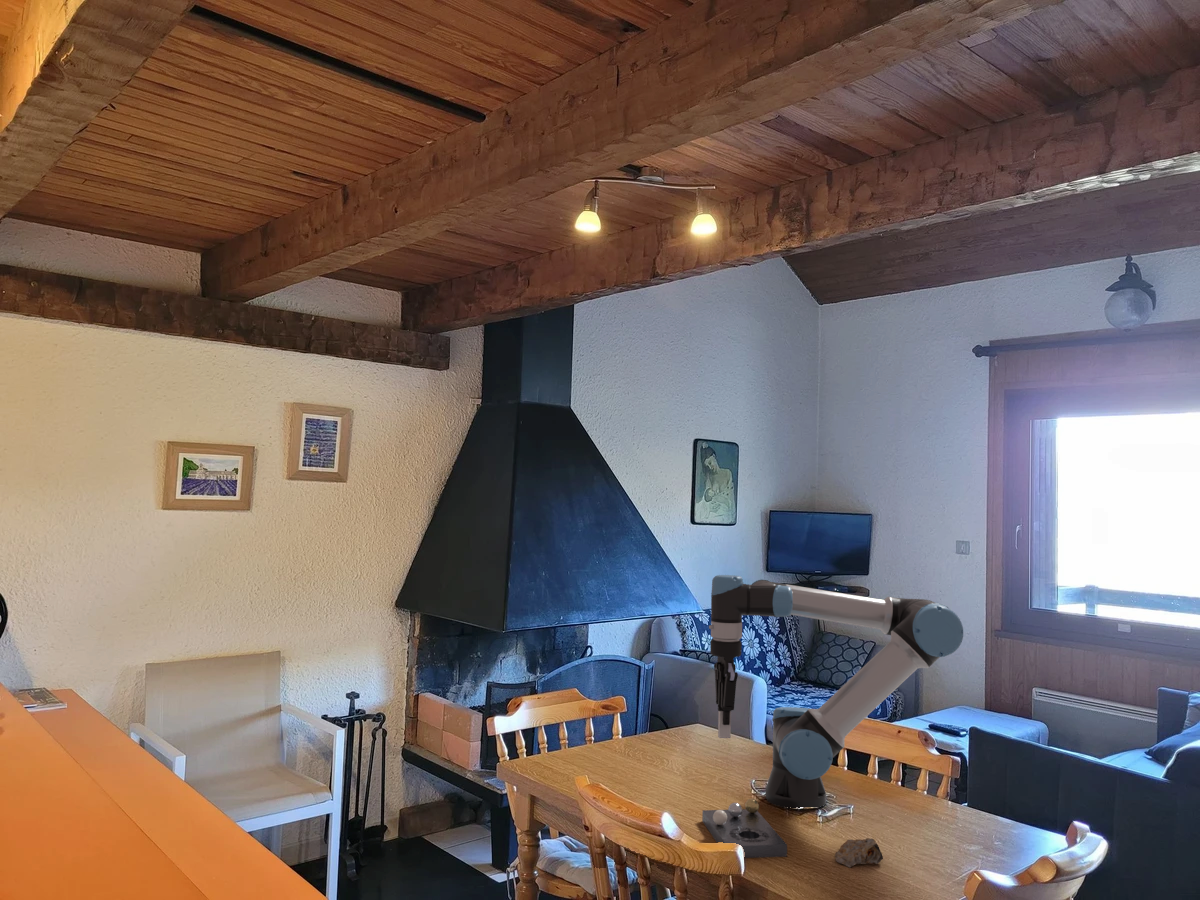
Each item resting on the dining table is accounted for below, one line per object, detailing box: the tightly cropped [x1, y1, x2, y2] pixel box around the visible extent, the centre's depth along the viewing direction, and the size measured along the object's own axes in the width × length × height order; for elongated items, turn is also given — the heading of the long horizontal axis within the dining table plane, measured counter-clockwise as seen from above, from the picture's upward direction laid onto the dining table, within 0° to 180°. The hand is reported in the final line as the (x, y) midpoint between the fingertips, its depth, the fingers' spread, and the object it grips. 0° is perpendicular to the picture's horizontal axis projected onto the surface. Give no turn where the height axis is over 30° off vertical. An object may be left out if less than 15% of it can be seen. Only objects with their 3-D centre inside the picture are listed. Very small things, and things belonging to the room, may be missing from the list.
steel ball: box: [727, 802, 743, 818], centre depth 205 cm, size 3×3×3 cm
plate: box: [701, 808, 788, 859], centre depth 198 cm, size 22×13×2 cm, turn 7°
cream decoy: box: [713, 809, 727, 825], centre depth 200 cm, size 3×3×3 cm
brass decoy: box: [744, 798, 760, 813], centre depth 208 cm, size 3×3×3 cm
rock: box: [834, 838, 884, 869], centre depth 187 cm, size 9×6×10 cm
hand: (724, 737), depth 214 cm, fingers closed
